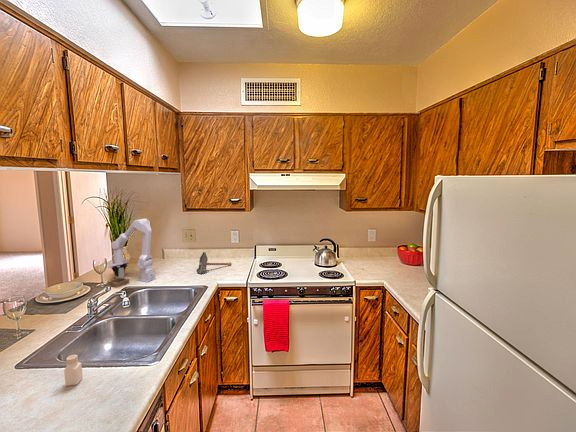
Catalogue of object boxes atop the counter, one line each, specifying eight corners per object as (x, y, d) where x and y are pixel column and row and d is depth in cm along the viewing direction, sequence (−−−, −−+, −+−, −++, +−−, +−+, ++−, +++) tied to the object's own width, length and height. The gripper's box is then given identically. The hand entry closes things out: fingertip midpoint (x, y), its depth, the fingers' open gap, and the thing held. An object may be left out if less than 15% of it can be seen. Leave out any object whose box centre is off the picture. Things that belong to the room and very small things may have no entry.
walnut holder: (129, 283, 202) (129, 279, 202) (116, 287, 194) (116, 283, 193) (120, 281, 206) (120, 277, 206) (107, 285, 197) (107, 281, 197)
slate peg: (124, 277, 213) (123, 267, 212) (119, 279, 210) (118, 268, 209) (120, 277, 215) (120, 266, 214) (115, 278, 211) (114, 268, 210)
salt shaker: (64, 386, 100) (62, 361, 99) (71, 379, 104) (68, 354, 103) (77, 385, 101) (75, 359, 100) (83, 377, 105) (81, 353, 104)
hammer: (234, 253, 243) (203, 252, 220) (231, 272, 243) (200, 273, 220) (229, 252, 247) (199, 251, 224) (227, 271, 246) (196, 272, 223)
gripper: (124, 254, 219) (125, 271, 220) (105, 258, 206) (106, 277, 207) (130, 255, 216) (131, 272, 217) (111, 259, 203) (113, 278, 204)
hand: (119, 275), depth 212 cm, fingers closed on slate peg, 4 cm apart
